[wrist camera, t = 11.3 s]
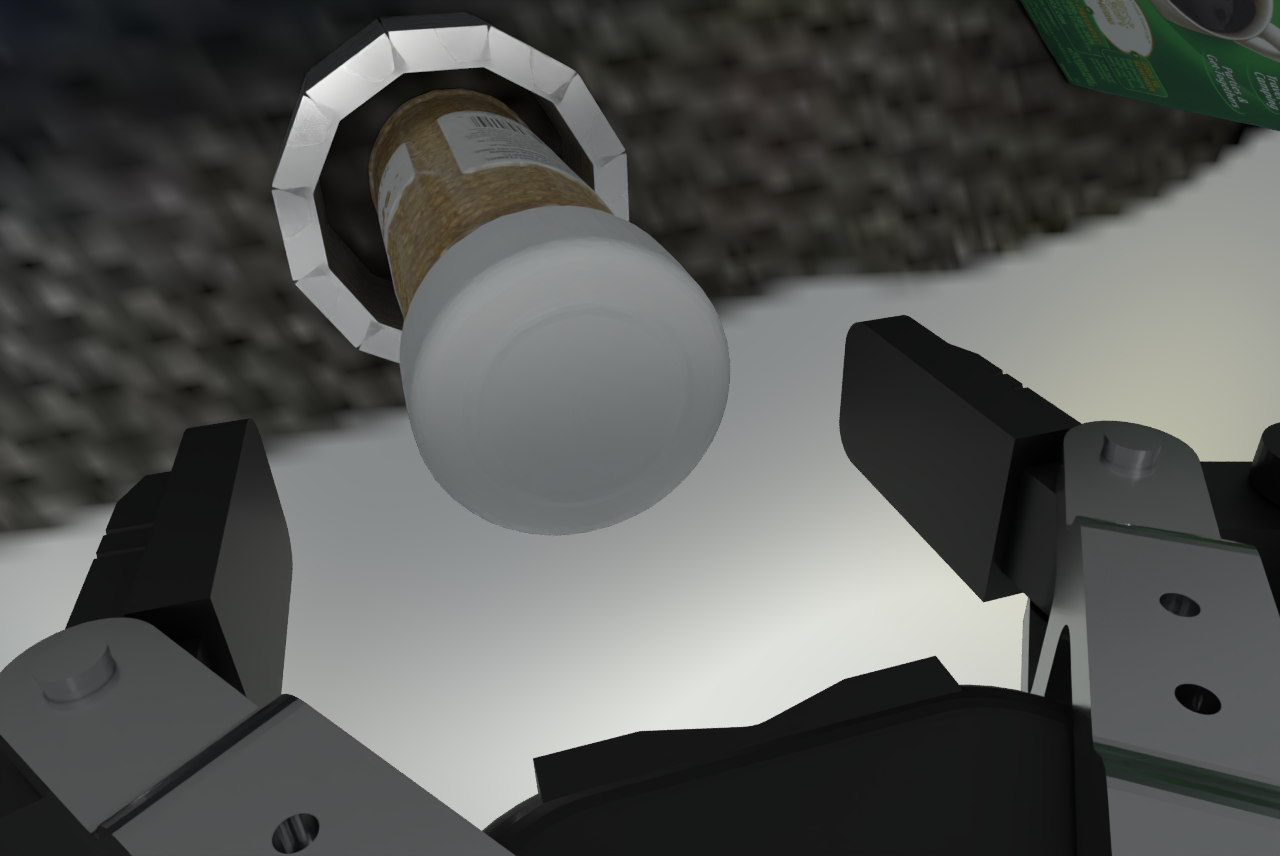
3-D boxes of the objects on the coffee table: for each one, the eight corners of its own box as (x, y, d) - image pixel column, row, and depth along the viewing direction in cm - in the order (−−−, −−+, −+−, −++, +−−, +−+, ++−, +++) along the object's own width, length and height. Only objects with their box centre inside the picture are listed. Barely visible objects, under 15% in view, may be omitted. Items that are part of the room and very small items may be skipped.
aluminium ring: (582, 5, 22) (620, 17, 19) (599, 299, 26) (633, 346, 23) (249, 25, 20) (235, 41, 17) (321, 339, 24) (320, 396, 21)
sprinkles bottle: (328, 176, 22) (330, 427, 11) (456, 42, 22) (594, 163, 10) (463, 295, 25) (575, 598, 14) (580, 177, 24) (799, 392, 13)
